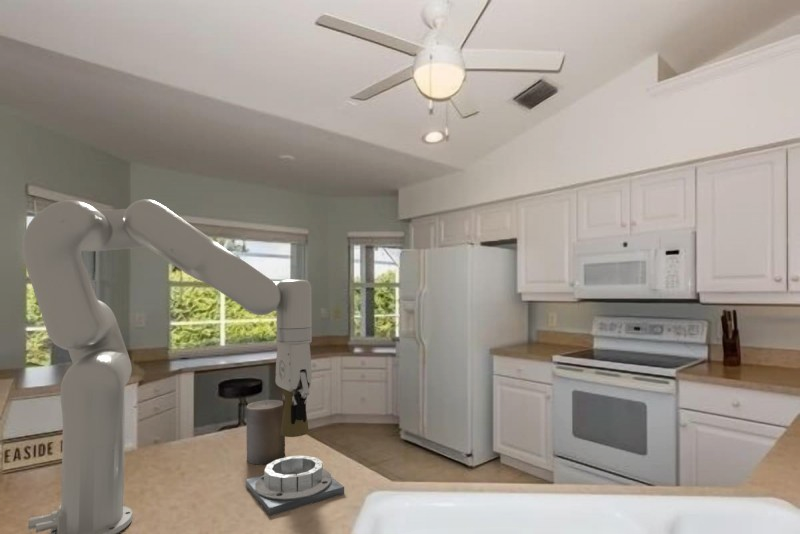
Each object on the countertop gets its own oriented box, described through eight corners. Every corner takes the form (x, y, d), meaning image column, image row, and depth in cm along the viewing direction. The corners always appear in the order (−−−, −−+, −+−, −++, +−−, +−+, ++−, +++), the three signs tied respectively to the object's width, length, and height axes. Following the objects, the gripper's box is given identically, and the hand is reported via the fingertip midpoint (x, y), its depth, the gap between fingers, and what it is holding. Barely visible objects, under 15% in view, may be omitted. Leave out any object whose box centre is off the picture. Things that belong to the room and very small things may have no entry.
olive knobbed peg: (278, 430, 100) (278, 380, 100) (305, 426, 102) (305, 377, 103) (283, 438, 94) (283, 385, 95) (311, 434, 97) (311, 382, 97)
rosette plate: (269, 516, 86) (269, 488, 87) (245, 486, 100) (246, 462, 100) (344, 493, 95) (344, 469, 96) (313, 469, 109) (313, 447, 109)
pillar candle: (291, 451, 121) (290, 394, 122) (275, 465, 111) (275, 403, 112) (256, 450, 122) (256, 394, 123) (238, 464, 112) (238, 403, 113)
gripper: (265, 334, 104) (265, 414, 103) (291, 340, 90) (291, 433, 89) (296, 332, 108) (296, 409, 107) (326, 337, 94) (326, 426, 93)
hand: (294, 419), depth 98 cm, fingers closed on olive knobbed peg, 3 cm apart
